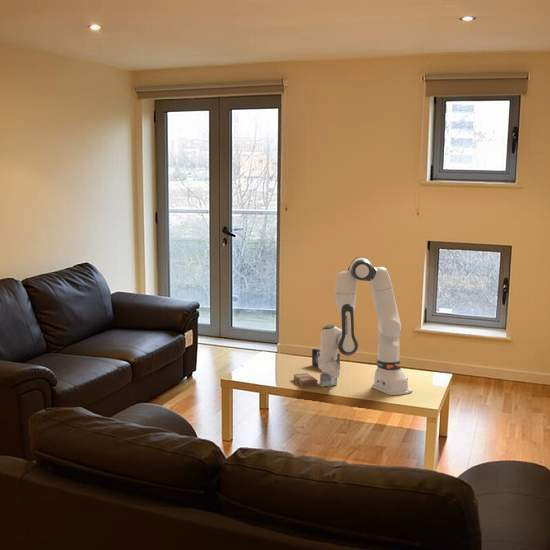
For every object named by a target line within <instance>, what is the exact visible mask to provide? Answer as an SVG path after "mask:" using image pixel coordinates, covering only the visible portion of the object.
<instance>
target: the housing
mask: <svg viewBox="0 0 550 550" xmlns="http://www.w3.org/2000/svg"><path fill="white" fill-rule="evenodd" d="M319 380H320V381H319V386H321V385H322V386H328V387H334V386H333V385H337V386H338V377H337V378H335V381H334V384H331V383H330V380H331V376H330V375H328V374H327V373H326V374H322V373H320V374H319ZM322 386H321V387H322Z"/></svg>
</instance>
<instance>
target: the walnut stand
mask: <svg viewBox="0 0 550 550" xmlns="http://www.w3.org/2000/svg"><path fill="white" fill-rule="evenodd" d="M293 380H294V381H295V382H296V383H297V384H298V383H299V386H301V387H302V388H309V386H311V387H317V386H318V379H316V378H315V377H314V376H312V375H311V374H309V373H308V372H304V373H296V374H293ZM316 385H317V386H316Z"/></svg>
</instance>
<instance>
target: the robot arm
mask: <svg viewBox="0 0 550 550" xmlns="http://www.w3.org/2000/svg"><path fill="white" fill-rule="evenodd" d="M335 278H336V279H335V285H334V299H335V300H334V301H335V306H336V307H337V309H338V312H339V316H340V318H341V319H340V320H341V321H340V322H341V328H340V327H337V326H336V325H333V324H330V325H326V326H324V327H322V329H321V331H320V349H319V350H320V352H317V356H318V367H317V368H318V369H320V370H321V374H326V373H327V374H328V375H330V376H331V380H330V383H331V384H334V381H335V378H337V379H338V378H340V371H339V364H338V363H337V362H336V360H337V353H338V351H339V352H340V353H341V355H344V356H352V355H354V354H355V353H356V352H357V350H358V348H359V343H358V341H357V339H356V337H355V321H354V320H355V317H354V316H355V309H356V307H355V306H356V303H357V302H356V300H357V284H358V281H365V282H369V285H370V289H371V295H372V299H373V304H374V309H375V314H376V318H377V344H378V345H377V347H378V348H377V359H376V366H377V367H376V370H375V372H374V375H373V376H374V377H373V383H372V385H371V388H372V389H375V390H377V391H379V392H382V393H384V394H387V395H389V396H399V395H407V394H411V393H413V389H412V388H411V387H410V386H409V385H408V384H409V383H408V381H409V377H408V376H406V375H405V373H404V371H403V370H402V364H401V361H400V332H401V331H402V330H401V329H402V322H401V319H400V314H399V310H398V306H397V302H396V298H395V292H394V286H393V283H392V282H393V281H392V279H391V277H390V274H389V272H388V269H387V268H385V267H383V266H377V267H374V266H373V264H372V263H371V261H370V260H369V259H368V258H366V257H365V256H357V257H356V258H354V259H353V260H352V261H351V263H350V265H349V267H348V269H347V270H343V271H340V272H338V273H337V274H336V277H335Z"/></svg>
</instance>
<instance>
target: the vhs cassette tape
mask: <svg viewBox="0 0 550 550" xmlns="http://www.w3.org/2000/svg"><path fill="white" fill-rule="evenodd" d="M320 350H321V349H319V348H313V349H311V363H312V364H311V365H313V366H312V367H316V366H317V367H316V368H319V367H318V356H317V352H320ZM340 357H341V354H340V353H338V352H337V360H336V362H337V363H338V364H339V370H340V368H341V365H340V364H341V361H340V360H341V358H340Z"/></svg>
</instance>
